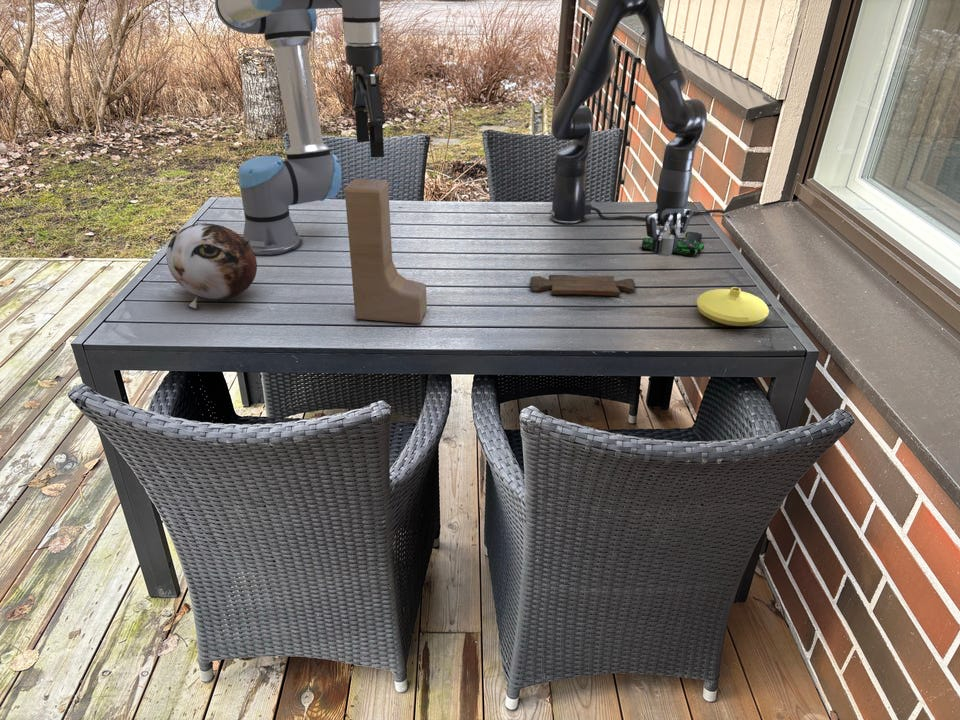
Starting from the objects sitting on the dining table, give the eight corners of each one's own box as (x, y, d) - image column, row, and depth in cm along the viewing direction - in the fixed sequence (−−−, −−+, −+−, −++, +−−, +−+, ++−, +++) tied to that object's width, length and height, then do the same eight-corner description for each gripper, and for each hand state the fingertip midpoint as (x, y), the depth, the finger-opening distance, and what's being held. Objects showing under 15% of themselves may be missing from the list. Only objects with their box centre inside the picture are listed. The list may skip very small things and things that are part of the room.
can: (659, 256, 181) (661, 239, 179) (651, 250, 185) (654, 232, 182) (674, 255, 182) (677, 238, 180) (667, 248, 186) (670, 231, 183)
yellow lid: (708, 296, 172) (714, 269, 169) (775, 314, 165) (782, 286, 161) (683, 320, 161) (688, 292, 158) (753, 340, 154) (760, 311, 150)
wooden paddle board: (638, 298, 171) (631, 281, 180) (639, 292, 170) (632, 275, 179) (530, 294, 172) (529, 277, 180) (531, 288, 171) (529, 271, 179)
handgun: (708, 232, 202) (701, 248, 190) (707, 242, 204) (700, 259, 192) (651, 225, 208) (641, 240, 196) (650, 234, 209) (639, 251, 197)
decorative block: (420, 325, 158) (416, 192, 142) (354, 319, 159) (343, 187, 144) (427, 309, 164) (423, 181, 149) (363, 305, 166) (354, 177, 150)
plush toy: (130, 285, 161) (164, 203, 163) (192, 308, 177) (221, 233, 178) (195, 307, 151) (229, 220, 152) (254, 330, 166) (285, 250, 168)
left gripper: (397, 51, 137) (401, 162, 148) (367, 36, 157) (373, 134, 168) (358, 53, 135) (366, 165, 146) (333, 37, 155) (341, 136, 166)
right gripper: (661, 194, 169) (651, 261, 178) (706, 186, 175) (694, 251, 183) (641, 185, 174) (632, 250, 183) (685, 177, 180) (674, 241, 189)
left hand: (370, 149), depth 157 cm, fingers open, 13 cm apart
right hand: (663, 250), depth 183 cm, fingers closed on can, 4 cm apart
